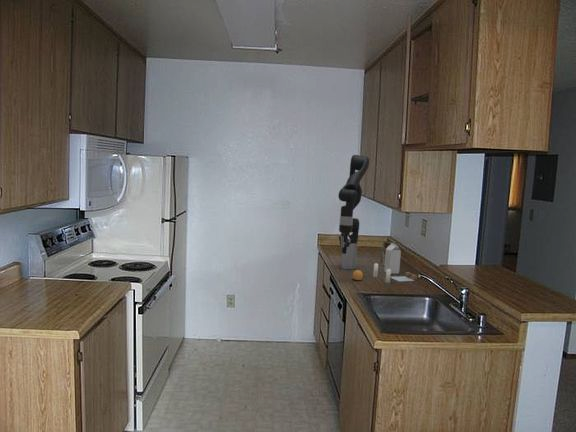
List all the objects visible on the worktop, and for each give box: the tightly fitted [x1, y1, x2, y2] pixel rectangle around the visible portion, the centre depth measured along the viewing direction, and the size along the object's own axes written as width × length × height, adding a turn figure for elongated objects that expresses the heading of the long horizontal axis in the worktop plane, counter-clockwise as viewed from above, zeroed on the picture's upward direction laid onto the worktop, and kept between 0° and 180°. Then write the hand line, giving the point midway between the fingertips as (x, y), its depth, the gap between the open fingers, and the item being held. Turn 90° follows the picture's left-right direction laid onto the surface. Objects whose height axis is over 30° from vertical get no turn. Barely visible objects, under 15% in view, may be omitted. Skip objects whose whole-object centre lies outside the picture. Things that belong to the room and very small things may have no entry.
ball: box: [352, 269, 364, 281], centre depth 285 cm, size 6×6×6 cm
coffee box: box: [380, 241, 398, 267], centre depth 333 cm, size 9×6×16 cm
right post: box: [385, 269, 392, 284], centre depth 283 cm, size 3×3×8 cm
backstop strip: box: [404, 271, 418, 282], centre depth 297 cm, size 10×2×3 cm, turn 18°
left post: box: [372, 262, 379, 278], centre depth 297 cm, size 3×3×8 cm
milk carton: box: [383, 242, 402, 275], centre depth 311 cm, size 7×7×19 cm
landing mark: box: [390, 275, 415, 282], centre depth 295 cm, size 11×11×1 cm
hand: (344, 253), depth 280 cm, fingers closed
